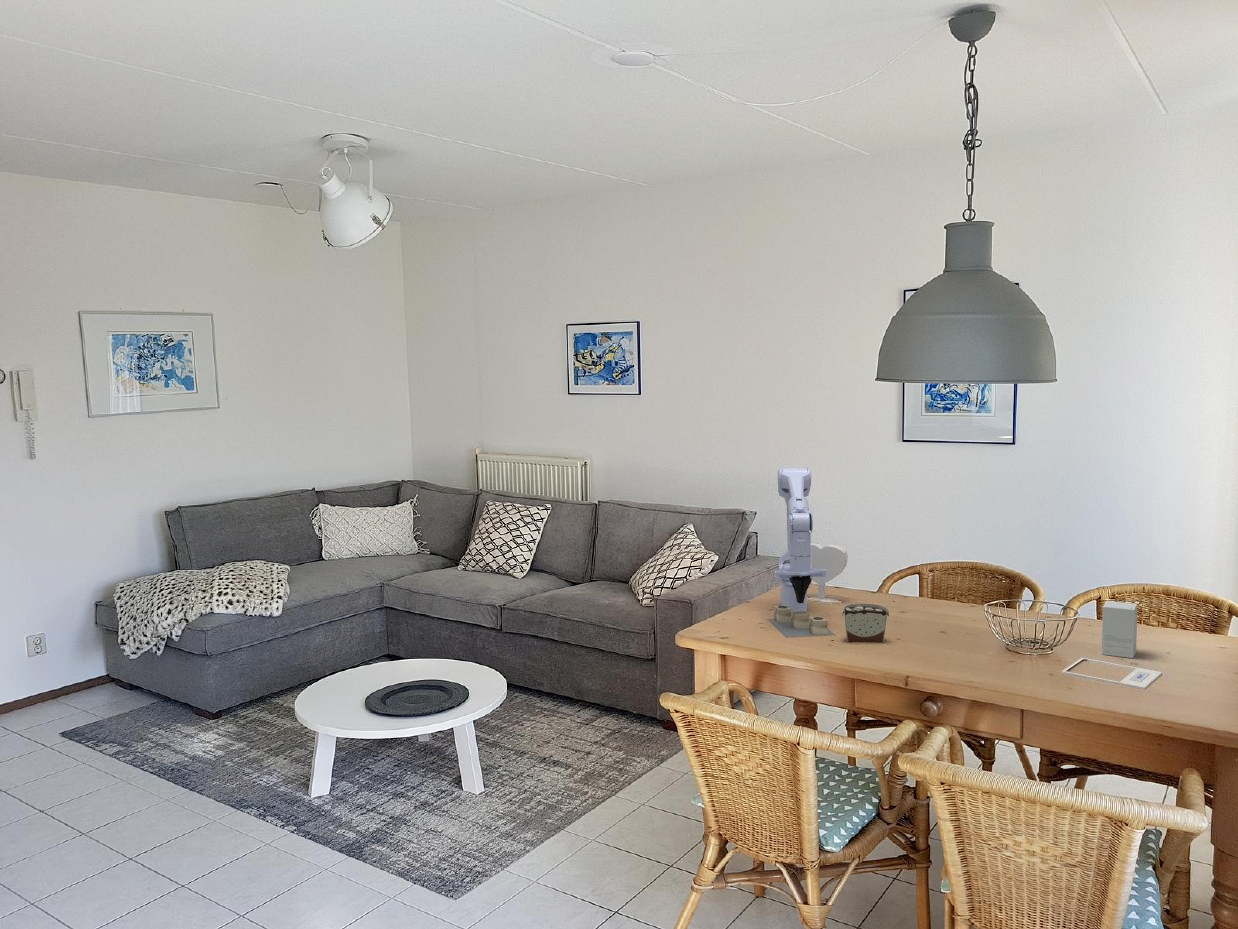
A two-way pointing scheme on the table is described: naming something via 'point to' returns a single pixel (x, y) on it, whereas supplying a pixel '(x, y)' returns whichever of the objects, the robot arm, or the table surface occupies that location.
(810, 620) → the dotted block
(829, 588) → the table surface
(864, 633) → the food container
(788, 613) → the dotted block
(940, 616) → the table surface
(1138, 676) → the photo frame
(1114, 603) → the supplement box
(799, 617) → the plain block
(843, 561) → the heart sculpture
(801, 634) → the tapping mat
